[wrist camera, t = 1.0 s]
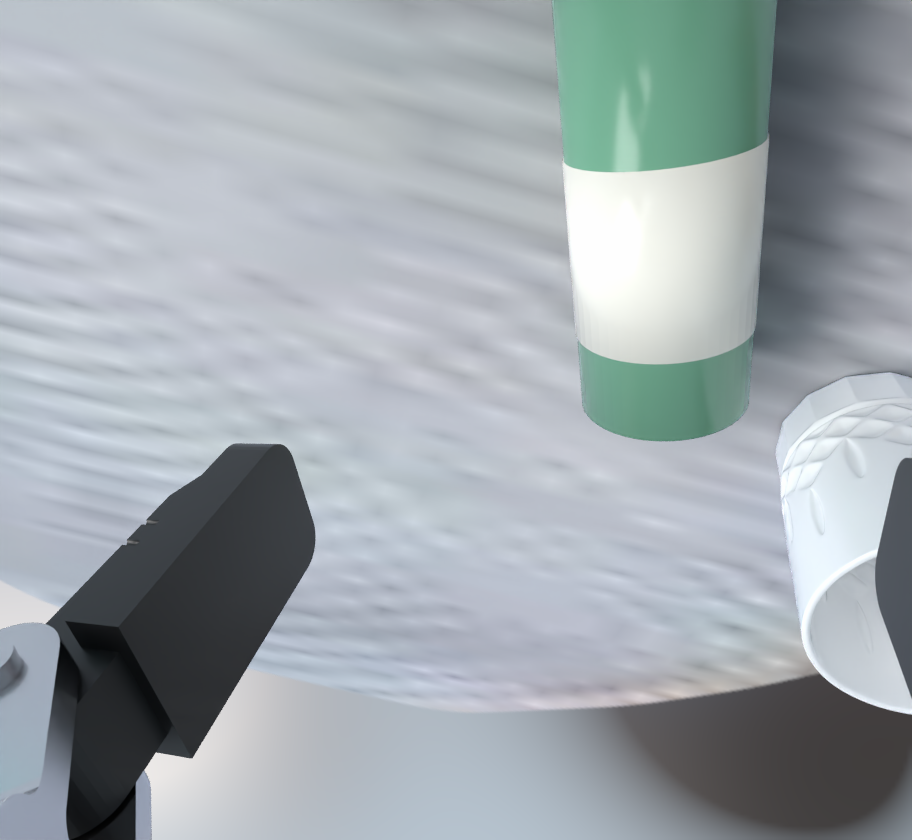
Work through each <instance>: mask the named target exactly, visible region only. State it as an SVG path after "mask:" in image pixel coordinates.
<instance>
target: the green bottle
mask: <svg viewBox="0 0 912 840" xmlns="http://www.w3.org/2000/svg"><path fill="white" fill-rule="evenodd" d="M776 11H777V0H552V12H553V25H554V38H555V51H556V64H557V77H558V90H559V103H560V116H561V129H562V143H563V156H564V157H563V159H562V163H563V176H564V189H565V202H566V215H567V228H568V241H569V254H570V266H571V279H572V292H573V305H574V318H575V331H576V337H577V339H578V352H579V365H580V378H581V391H582V404H583V408H584V411H585V413H586V414H587V416H588V417H589V418H590V419H591V420H592V421H593V422H595V423H596V424H597V425H599V426H600V427H602V428H604V429H606V430H608V431H610V432H613V433H615V434H618V435H621V436H625V437H629V438H634V439H640V440H648V441H680V440H687V439H694V438H698V437H703V436H707V435H710V434H713V433H716V432H718V431H720V430H723V429H725V428H727V427H728V426H730V425H732V424H733V423H735V422H736V421H737V420H738V419H739V418H740V417H741V416H742V415H743V414H744V413H745V411H746V410H747V407H748V404H749V392H750V378H751V364H752V350H753V335H754V330H755V328H756V316H757V302H758V289H759V275H760V261H761V247H762V233H763V219H764V206H765V192H766V178H767V164H768V150H769V134H768V124H769V110H770V96H771V82H772V67H773V53H774V39H775V25H776Z"/></svg>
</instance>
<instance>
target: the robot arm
mask: <svg viewBox="0 0 912 840" xmlns="http://www.w3.org/2000/svg"><path fill="white" fill-rule="evenodd" d="M314 548H315V527H314V523H313V520H312V516H311V513H310V510H309V507H308V504H307V501H306V498H305V494H304V491H303V488H302V485H301V482H300V479H299V476H298V472H297V469H296V466H295V463H294V460H293V457H292V455H291V453H290V451H289V450H288V449H287V448H286V447H285V446H284V445H281V444H237V443H236V444H233V445H231V446H229V447H228V448H227V449H226V450H225V451H224V452H223V453H222V454H221V455H220V456H219V457H218V458H217V459H216V460H215V461H214V463H213V464H212V465H211V466H210V467H209V468H208V469H207V470H206V471H205V472H204V473H203V474H202V475H201V476H199V477H198V478H196V479H195V480H193V481H192V482H190V483H188V484H187V485H185V486H184V487H182V488H181V489H179V490H178V491H176V492H175V493H173V494H171V495H170V496H169V497H168V498H167V499H166V500H165V501H164V502H163V503H162V504H161V505H160V506H159V507H158V508H157V509H156V510H155V511H154V512H153V513H152V515H151V516H150V517H149V518H148V519H147V523H146V525H141V526H140V527H139V528H138V529H137V530H136V531H135V532H134V533H133V534H132V535H131V536H130V537H129V538H128V539H127V545H122V546H121V547H120V548H119V549H118V550H117V551H116V552H115V553H114V554H113V555H112V556H111V557H110V558H109V559H108V560H107V561H106V562H105V563H104V564H103V565H102V566H101V567H100V568H99V569H98V570H97V572H96V573H95V574H94V575H93V576H92V577H91V578H90V579H89V580H88V581H87V582H86V583H85V584H84V585H83V586H82V587H81V588H80V589H79V590H78V591H77V592H76V593H75V594H74V595H73V596H72V597H71V598H70V600H69V601H68V602H67V603H66V604H65V605H64V606H63V607H62V608H61V609H60V610H59V611H58V612H57V613H56V614H55V615H54V616H53V617H52V618H51V619H50V620H49V621H48V622H47V623H46V624H42V623H23V624H18V625H13V626H10V627H7V628H3V629H1V630H0V840H152V833H151V832H152V831H151V787H150V781H149V779H148V776H147V775H146V773H145V771H144V769H145V768H146V766H147V765H148V763H149V762H150V760H151V759H152V757H153V756H154V754H155V753H156V752H157V753H163V754H169V755H175V756H181V757H186V758H193V756H194V755H195V753H196V751H197V750H198V748H199V746H200V745H201V742H202V741H203V740H204V738H205V736H206V735H207V733H208V731H209V730H210V728H211V726H212V725H213V723H214V722H215V720H216V718H217V717H218V715H219V713H220V712H221V710H222V708H223V707H224V705H225V703H226V702H227V700H228V698H229V696H230V695H231V693H232V692H233V690H234V688H235V687H236V685H237V683H238V682H239V680H240V679H241V677H242V675H243V673H244V672H245V670H246V669H247V667H248V665H249V664H250V662H251V660H252V659H253V657H254V655H255V654H256V652H257V651H258V649H259V647H260V646H261V644H262V642H263V641H264V639H265V637H266V636H267V634H268V632H269V631H270V629H271V627H272V626H273V624H274V622H275V621H276V619H277V617H278V616H279V614H280V613H281V611H282V609H283V608H284V606H285V604H286V603H287V601H288V599H289V598H290V596H291V594H292V593H293V591H294V589H295V588H296V586H297V584H298V583H299V581H300V580H301V578H302V576H303V575H304V573H305V571H306V570H307V568H308V566H309V564H310V562H311V559H312V556H313V553H314ZM875 585H876V594H877V600H878V605H879V608H880V612H881V615H882V617H883V620H884V623H885V626H886V628H887V631H888V634H889V637H890V640H891V642H892V645H893V648H894V651H895V654H896V656H897V659H898V662H899V665H900V667H901V670H902V673H903V676H904V679H905V681H906V684H907V687H908V690H909V693H910V695H911V698H912V458H904V459H903V460H902V461H901V462H900V463H899V465H898V467H897V470H896V473H895V477H894V481H893V486H892V490H891V495H890V499H889V504H888V508H887V512H886V517H885V521H884V526H883V530H882V534H881V539H880V543H879V548H878V552H877V557H876V565H875Z"/></svg>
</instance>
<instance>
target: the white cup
mask: <svg viewBox="0 0 912 840" xmlns="http://www.w3.org/2000/svg"><path fill="white" fill-rule="evenodd" d="M775 453H776V459H777V465H778V470H779V476H780V481H781V506H782V513H783V519H784V528H785V537H786V544H787V551H788V557H789V563H790V569H791V575H792V581H793V586H794V592H795V598H796V604H797V611H798V617H799V623H800V630H801V636H802V642H803V645H804V648H805V651H806V653H807V656H808V657H809V659H810V661H811V662H812V664H813V665H814V667H815V668H816V669H817V670H818V671H819V673H820V674H821V675H822V676H823V677H824V678H826V679H827V680H828V681H829V682H830V683H832V684H833V685H834V686H836V687H837V688H839V689H840V690H842V691H843V692H845V693H847V694H849V695H851V696H853V697H855V698H857V699H859V700H861V701H864V702H866V703H869V704H872V705H874V706H878V707H881V708H884V709H888V710H892V711H896V712H901V713H907V714H912V698H911V695H910V693H909V690H908V687H907V684H906V681H905V679H904V676H903V673H902V670H901V667H900V665H899V662H898V659H897V656H896V654H895V651H894V648H893V645H892V642H891V640H890V637H889V634H888V631H887V628H886V626H885V623H884V620H883V617H882V615H881V612H880V608H879V605H878V600H877V594H876V585H875V565H876V557H877V552H878V548H879V543H880V539H881V534H882V530H883V526H884V521H885V517H886V512H887V508H888V504H889V499H890V495H891V490H892V486H893V481H894V477H895V473H896V470H897V467H898V465H899V463H900V462H901V461H902V460H903V459H904V458H912V378H911V377H907V376H903V375H899V374H896V373H892V372H886V373H877V374H867V375H858V376H849V377H844V378H842V379H840V380H838V381H836V382H834V383H832V384H830V385H828V386H825V387H823V388H821V389H819V390H817V391H815V392H813V393H811V394H809V395H807V396H806V397H805V398H804V399H803V401H802V402H801V403H800V404H799V405H798V406H797V407H796V408H795V409H794V410H793V411H792V412H791V414H790V415H789V416H788V417H787V418H786V419H785V420H784V421H783V424H782V427H781V431H780V435H779V439H778V443H777V447H776V451H775Z"/></svg>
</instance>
